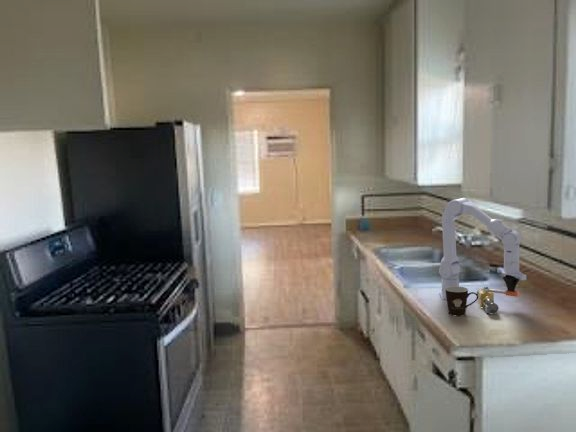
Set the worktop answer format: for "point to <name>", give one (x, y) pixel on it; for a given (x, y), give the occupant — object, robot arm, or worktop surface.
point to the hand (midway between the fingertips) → (511, 293)
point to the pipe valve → (487, 301)
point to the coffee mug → (457, 300)
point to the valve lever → (508, 292)
